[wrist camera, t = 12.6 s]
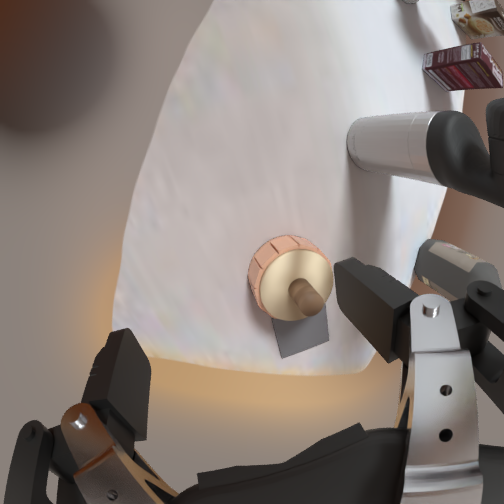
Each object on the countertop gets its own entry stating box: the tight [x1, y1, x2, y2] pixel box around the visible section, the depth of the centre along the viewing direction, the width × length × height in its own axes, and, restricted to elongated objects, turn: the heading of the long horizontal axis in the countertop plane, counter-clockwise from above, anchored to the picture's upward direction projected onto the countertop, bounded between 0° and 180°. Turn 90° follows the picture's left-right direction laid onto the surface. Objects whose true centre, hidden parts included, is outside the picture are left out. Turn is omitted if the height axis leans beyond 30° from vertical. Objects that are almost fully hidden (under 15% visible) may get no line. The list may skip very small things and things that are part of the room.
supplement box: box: [422, 42, 503, 91], centre depth 30 cm, size 9×5×16 cm, turn 72°
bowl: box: [248, 235, 332, 319], centre depth 42 cm, size 12×12×5 cm
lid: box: [259, 249, 333, 321], centre depth 37 cm, size 11×11×6 cm
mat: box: [272, 303, 329, 358], centre depth 49 cm, size 10×10×1 cm
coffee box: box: [451, 0, 504, 39], centre depth 25 cm, size 9×6×16 cm
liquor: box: [414, 239, 502, 301], centre depth 37 cm, size 9×9×30 cm
